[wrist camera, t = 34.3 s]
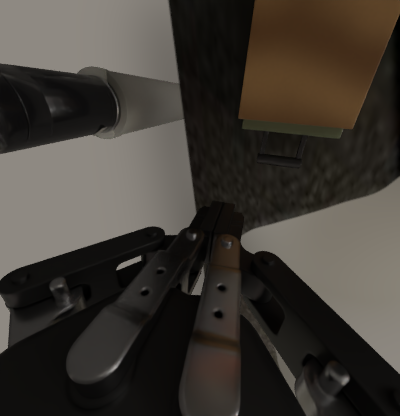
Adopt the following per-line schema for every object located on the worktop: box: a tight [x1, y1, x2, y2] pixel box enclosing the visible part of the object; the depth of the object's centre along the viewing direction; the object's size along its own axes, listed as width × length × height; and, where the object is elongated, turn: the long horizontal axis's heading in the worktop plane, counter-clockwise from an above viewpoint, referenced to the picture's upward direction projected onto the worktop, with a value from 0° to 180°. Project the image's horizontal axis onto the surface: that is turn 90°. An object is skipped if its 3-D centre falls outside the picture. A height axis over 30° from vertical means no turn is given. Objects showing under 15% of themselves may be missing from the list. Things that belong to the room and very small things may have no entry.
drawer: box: [242, 119, 343, 168], centre depth 26 cm, size 18×11×8 cm, turn 176°
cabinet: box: [238, 0, 400, 129], centre depth 24 cm, size 15×13×10 cm
